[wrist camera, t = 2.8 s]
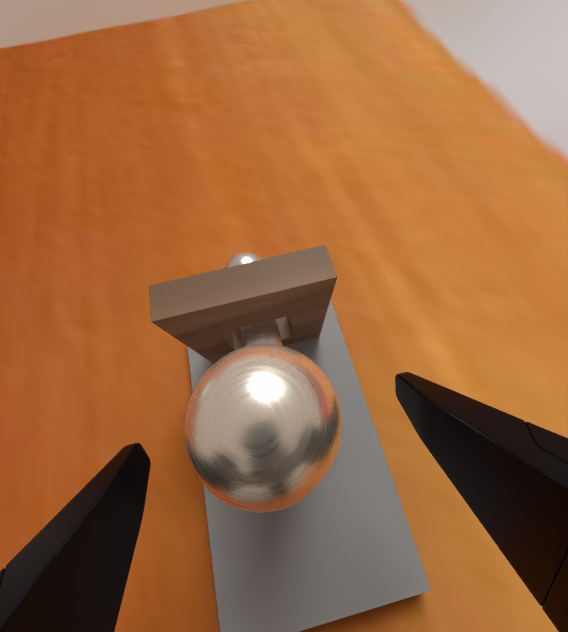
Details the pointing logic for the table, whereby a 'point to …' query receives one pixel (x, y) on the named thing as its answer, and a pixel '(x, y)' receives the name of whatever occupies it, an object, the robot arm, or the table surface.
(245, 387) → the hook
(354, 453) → the base board
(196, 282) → the block
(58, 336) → the table surface
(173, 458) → the table surface
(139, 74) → the table surface
